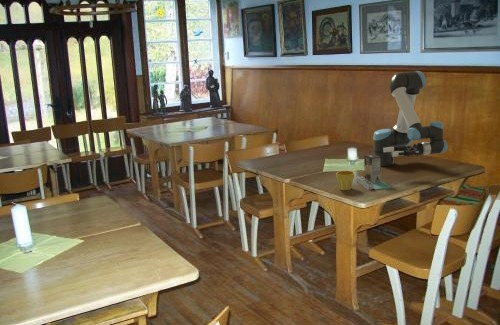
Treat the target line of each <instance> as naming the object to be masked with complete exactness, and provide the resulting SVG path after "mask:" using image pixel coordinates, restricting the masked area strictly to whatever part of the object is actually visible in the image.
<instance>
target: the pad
mask: <svg viewBox="0 0 500 325" xmlns="http://www.w3.org/2000/svg"><path fill="white" fill-rule="evenodd" d="M372 184H374V190H375V191H378V190H387V189H388V190H389V189H392V186H391V185H389V184H387V183H386V182H384V181H380V182H378V183H372Z"/></svg>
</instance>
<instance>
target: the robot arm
mask: <svg viewBox="0 0 500 325" xmlns="http://www.w3.org/2000/svg"><path fill="white" fill-rule="evenodd" d="M426 84H427V79H426V76H425V74H424V73H423V72H422V71H419V70H412V71H402V72H396V73H395V74H394V75H392V77H391V79H390V81H389V91H390V94H391V96H392V97H394V99H395V101H396V104H397V106H398V107H399V111H398V116H397V120H396V121H397V122H396V124H395V125H394V126H393V128H392V130H391V129H390V128H381V129H378V130H376V131H374V133H373V138H372V140H373V154H375V155H377V156H379V157H380V167H389V166H393V165H394V164H395V161H394V160H395V159H394V157H403V156H405V157H410V156H413V155H415V156H422V155H425V156H427V155H433V154H442V153H443V154H444V153H446V152H447V151H448V148H449V146H448V142H447V140H444V123H443V122H442V121H437V120H436V121H431V122H429V125H426V126H423V125H422V123H421V121H420V118H419V117H418V115H417V114H418V113H417V112H416V110H415V105H416V100H417V96H418V95H419V94H420V92H421V90H423V89H424V88H425V87H426ZM425 139H429V141H423V142H415V143H413V141H419V140H425ZM412 143H413V145H411V144H412Z"/></svg>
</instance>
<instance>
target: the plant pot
mask: <svg viewBox="0 0 500 325" xmlns="http://www.w3.org/2000/svg"><path fill="white" fill-rule="evenodd" d="M335 176H336V180H337V182H338V185H339V186H338V187H339V189H340V190H341V191H350V190H352V187H353V181H354V179H355V172H354V171H351V170H340V171H337V172H336V174H335Z"/></svg>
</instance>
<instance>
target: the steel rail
mask: <svg viewBox="0 0 500 325" xmlns="http://www.w3.org/2000/svg"><path fill="white" fill-rule="evenodd" d="M356 182H357V183H359V184H360V185H361V186H363V187H364V188H365V189H367V190H368V191H370V190H371V191H372V189H374V184H372V183H371V182H369V181H368V180H366V179H365V177H363V175H357V176H356ZM374 190H375V189H374Z"/></svg>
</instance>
